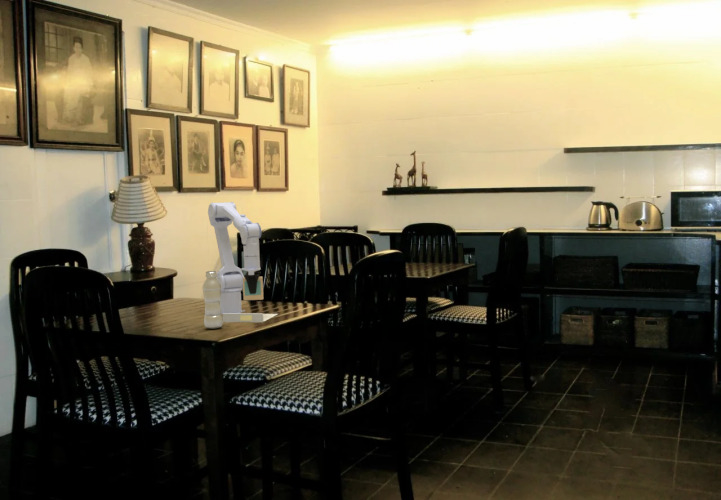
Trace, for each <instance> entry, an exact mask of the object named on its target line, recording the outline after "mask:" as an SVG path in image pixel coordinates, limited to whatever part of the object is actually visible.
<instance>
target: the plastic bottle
mask: <svg viewBox="0 0 721 500" xmlns="http://www.w3.org/2000/svg"><path fill="white" fill-rule="evenodd" d="M205 278H206V279H205V280H204V282H203V284H202V293H203V299H204V316H203V317H204V318H203V325H204V327H205V328H206V329H210V330H216V329H220V328H221V327H222V326H223V324H224V322H223V314H221V307H220V296H221V284H220V282H219V281H218V280H217V270H208V271H205Z"/></svg>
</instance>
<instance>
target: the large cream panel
mask: <svg viewBox="0 0 721 500" xmlns="http://www.w3.org/2000/svg"><path fill="white" fill-rule="evenodd" d="M276 316H278V313H262V312H259V313H257V312H256V313H255V312H253V313H252V312H247V313H245V312H241V313H223V314H222V318H223V323H264V322H266V321H268V320H270V319H271V318H274V317H276Z"/></svg>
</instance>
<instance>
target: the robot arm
mask: <svg viewBox="0 0 721 500" xmlns="http://www.w3.org/2000/svg"><path fill="white" fill-rule="evenodd" d="M207 215H208V219H209V224H210V226H212V227H214V228H213V229H214V233H215V238H216V244H217V248H218V249H217V250H218V253H219V258H220V263H221V268H220V269H219V270H218V271H216V274H217V277H216V279H217V280H218V281H219V282H220V284H221V296H220V307H221V315H223V313H244V312H246V310H245V309H242V293H241V292H242V291H243V277H245V279H246V281H247V284H248V288H249V292H250V294H256V289H257V281H258V278H259V277H261V276H260V275H261V271H260V270H262V269H261V260H260V259H261V258H260V240H259V239H260V238H261V237H262V227H261V225H260V224H259V222H252V221H251V220H250V219H249V218H248V217H247V216H246V214H245V213H243V214H240V213H239V212H238V209H237V205H236V204H235V202H234V201H230V202H229V201H228V202H210V204H209V205H208V209H207ZM230 225H233V227H234V228H235V229H236V230H238V232H239V235H240V238H241V244H242V245H243V246H242V247H243V263H244V264H243V266H244V267H242V268H240V267H238V266H237V265H236V264H235V260H234V255H233V250H232V246H231V245H232V244H231V241H230V236H229V231H228V227H229V226H230ZM243 271H244V272H246V273H245V274H244V273H243Z"/></svg>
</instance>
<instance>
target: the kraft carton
mask: <svg viewBox="0 0 721 500" xmlns="http://www.w3.org/2000/svg"><path fill="white" fill-rule="evenodd" d="M263 279H264V278H263V276H259V278H258V281H257V289H256V294H250V292H249V288H248V284H247V281H246V279H245V277H243V288H242V293H243V295H242V296H243V297H242V298H243V301H258V300H264V281H263Z"/></svg>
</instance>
